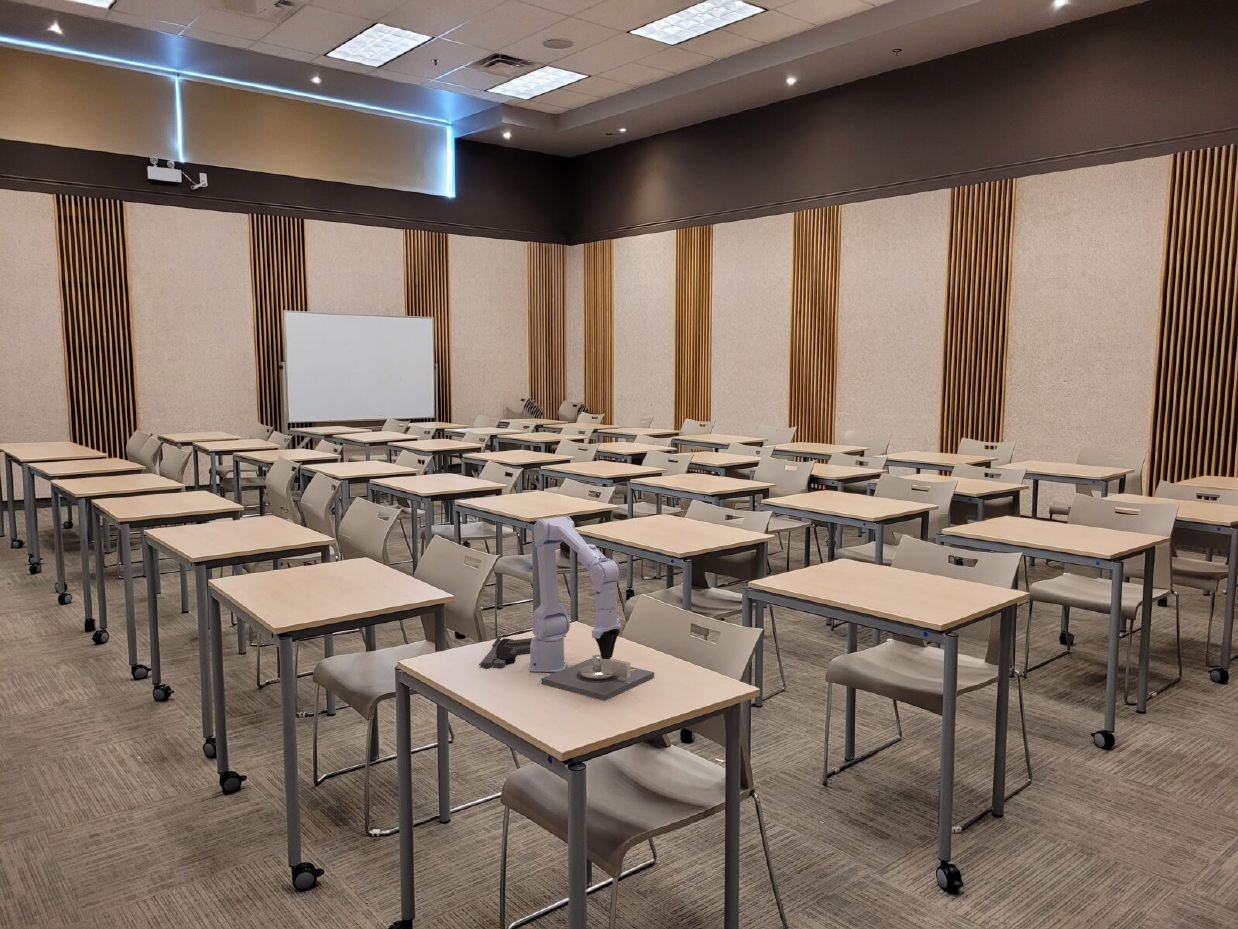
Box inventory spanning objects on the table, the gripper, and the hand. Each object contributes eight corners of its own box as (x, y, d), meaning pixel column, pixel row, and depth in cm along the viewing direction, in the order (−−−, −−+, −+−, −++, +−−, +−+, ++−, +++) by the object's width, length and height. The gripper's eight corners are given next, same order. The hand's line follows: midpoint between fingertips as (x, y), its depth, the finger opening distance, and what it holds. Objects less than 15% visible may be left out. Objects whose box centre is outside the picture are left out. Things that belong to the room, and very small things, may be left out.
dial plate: (541, 683, 239) (541, 677, 239) (592, 662, 256) (592, 657, 256) (604, 700, 226) (604, 694, 225) (654, 677, 243) (654, 672, 243)
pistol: (545, 637, 276) (498, 636, 278) (528, 663, 251) (477, 662, 252) (545, 644, 276) (498, 643, 278) (528, 671, 251) (477, 670, 253)
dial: (572, 675, 240) (572, 657, 239) (595, 665, 248) (595, 648, 247) (617, 686, 230) (617, 668, 230) (639, 676, 238) (639, 658, 238)
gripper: (609, 615, 221) (610, 668, 222) (630, 601, 234) (631, 651, 236) (584, 612, 224) (584, 665, 225) (606, 599, 237) (606, 648, 238)
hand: (606, 658), depth 231 cm, fingers closed
